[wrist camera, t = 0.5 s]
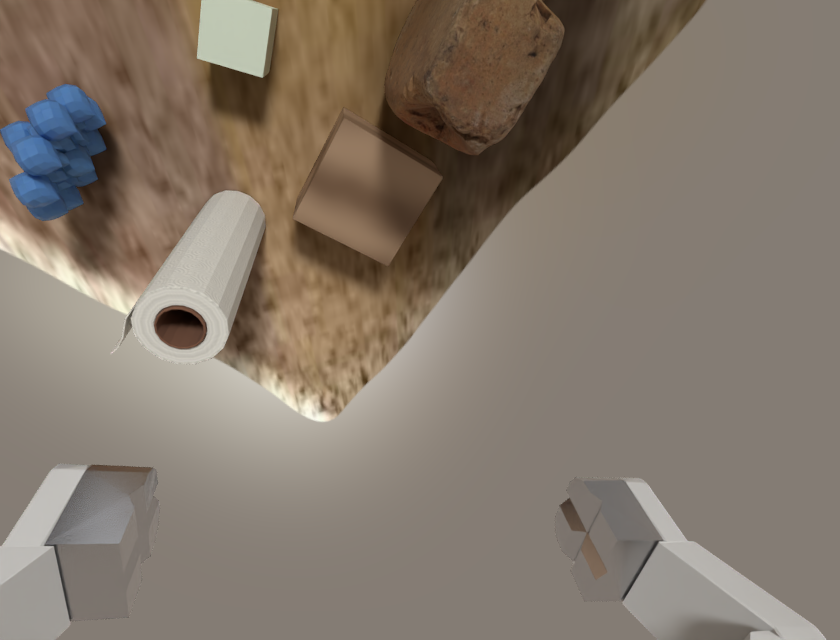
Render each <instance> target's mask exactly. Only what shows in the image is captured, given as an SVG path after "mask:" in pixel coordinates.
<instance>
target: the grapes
mask: <svg viewBox="0 0 840 640" xmlns="http://www.w3.org/2000/svg"><path fill="white" fill-rule="evenodd" d="M46 94H47V97H48V99H45V100H42V101H39V102H36V103H34V104H32V105H31V106H29V107H27V108H26V109H25V110H26V113H27V116H28V119H29V121H30V123H29V122H25V121H17V122H14V123H12V124H9V125H7V126H6V127H4V128H2V129H1V130H0V132H1V135H2V138H3V140H4V142H5V145H6V146H7V147H8V148H9V150H10V151H11V152H12V153H13V156H14V158H15V160H16V162H17V163H18V164H19V165H20V167H21V168H22V169H23V170H24V172H23V173H21V174H18V175H16V176H14V177H12V178H11V179H9V181H10V184H11V187H12V189H13V192H14V194H15V195H16V197H17V198H18V199H19V200H20V201H21V203H22V204H23V205H25V206H26V207H27V209H28V210H29V211H30V212H31V214H32V215H33V216H34V217H35V218H37V219H39V220H42V221H47V220H53V219H56V218H59V217H61V216H63V215H65V214H67V213H68V210H72V209H74V208H76V207H78V206H80V205H82V204H84V203H83V200H82V197H81V195H80V192H79V190H78V189H77V188H76V187H82V186H85V185H88V184H90V183H92V182H94V181H96V180H98V178H97V175H96V172H95V168H94V165H93V162H92V160H91V156H93V155H96V154H98V153H101V152H103V151H104V150H106V146H105V143H104V141H103V138H102V136H101V134H100V133H99V131H98V128H100V127H102V126H103V125H105V124H106V122H105V119H104V117H103V114H102V111H101V109H100V108H99V106H98V104H97V103H96V102H95V101H94V100H92V99H91V98H89V97H88V96H86V94H85V92H83V91H82V90H81V89H79V88H78V87H77V86H75V85H68V84H65V85H61V86H58V87H56V88H54V89H53V90H51V91H49V92H48V93H46Z"/></svg>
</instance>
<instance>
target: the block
mask: <svg viewBox="0 0 840 640" xmlns="http://www.w3.org/2000/svg"><path fill="white" fill-rule="evenodd" d="M564 32H565V29H564V26H563V25H562V23H561V21H560V19H559V18H558V17H557V16H555V14H554V13H553V12H552V11H551V10H550V9H549V8H548V7H547V6H546V5H545V4H544V3H543V2H542V0H417V2H416V3H415V5H414V7H413V8H412V10H411V12H410V14H409V16H408V18H407V20H406V23H405V25H404V27H403V29H402V31H401V33H400V36H399V38H398V40H397V42H396V46H395V48H394V52H393V56H392V58H391V61H390V64H389V69H388V71H387V74H386V78H385V84H384V85H385V97H386V100H387V103H388V105H389V106H390V108H391V109H392V111H393V112H394V114H395V115H396V116H397V117H398V118H400V119H401V120H402V121H403V122H405V123H406V124H408V125H410V126H412V127H413V128H415V129H417V130H419V131H421V132H423V133H425V134H427V135H429V136H431V137H433V138H435V139H438V140H440V141H441V142H443V143H445V144H447V145H449V146H451V147H452V148H454V149H456V150H459V151H462V152H464V153H466V154H468V155H479V154H480V153H481V152H482V151H484V150H485V149H486V148H488V147H490V146H491V145H495V144H496V143H498V142H499V141H501V140H502V139H504V138H505V137H506V135H507V134H508V133H509V132H510V130H511V129H512V128H513V127H514V125H515V124H516V123H517V121H518V119H519V118H520V116H521V114H522V113H523V111H524V109H525V107H526V106H527V104H528V102H529V101H530V100H531V99H532V97H533V95H534V93H535V92H536V90H537V89H538V87H539V86H540V84H541V83H542V81H543V79H544V77H545V76H546V73H547V71H548V68H549V66H550V65H551V63H552V62H553V60H554V58H555V57H556V55H557V53H558V51H559V49H560V47H561V45H562V41H563V36H564Z"/></svg>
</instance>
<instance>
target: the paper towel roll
mask: <svg viewBox="0 0 840 640" xmlns="http://www.w3.org/2000/svg"><path fill="white" fill-rule="evenodd" d="M265 227H266V225H265V215H264V213H263V211H262V209H261V207H260V205H259V204H258V203H257V202H256V201H255V200H254V199H253V198H252V197H251V196H249V195H247V194H244V193H242V192H240V191H227V190H225V191H223V192H220V193H217V194H214V195H213V196H212V197H211V198H210V199H209V201H208V202H207V203H206V204H205V205H204V207H203V208H202V209H201V211H200V212H199V214H198V215H197V216H196V218H195V219H194V221H193V222H192V224H191V225H190V226H189V228H188V229H187V231H186V232H185V234H184V235H183V236H182V238H181V239H180V241H179V242H178V244H177V245H176V246H175V248H174V249H173V251H172V252H171V254H170V255H169V256H168V258H167V259H166V261H165V262H164V264H163V265H162V266H161V268H160V269H159V271H158V272H157V274H156V275H155V276H154V278H153V279H152V281H151V282H150V284H149V285H148V286H147V288H146V289H145V291H144V292H143V294H142V295H141V296H140V298H139V299H138V301H137V302H136V304H135V305H134V306H133V308H132V309H131V311H130V312H129V314H128V315H127V316H126V318H125V321H124V328H123V334H122V337H121V338H120V340H119V341H118V343H117V344H116V346H115V347H114V349H113V350H112V352H111V353H110V354H112V353H114V352H115V351H116V350H117V349H118V347H119V346H120V344H121V343H122V341H123V340H124V338H125V337H126V335H127V334H128V332H129V331H130V329H131V328H132V327H133V331H134V335H135V336H136V338H137V339H138V340H139V342H140V343H141V344H142V346H143V347H144V348H145V349H146V350H148V351H149V352H151V353H152V354H154V355H155V356H157V357H158V358H160V359H163V360H166V361H170V362H173V363H176V364H197V363H200V362H203V361H206V360H209V359H212V358H213V357H214V356H215V355H216V354H217V353H219V352H220V351H221V350H222V349H223V348H224V346H225V344H226V341H227V339H228V336H229V334H230V331H231V328H232V325H233V322H234V319H235V316H236V313H237V310H238V307H239V304H240V301H241V298H242V295H243V292H244V289H245V286H246V283H247V281H248V278H249V275H250V272H251V269H252V266H253V263H254V260H255V257H256V254H257V251H258V248H259V245H260V242H261V239H262V236H263V233H264V230H265Z"/></svg>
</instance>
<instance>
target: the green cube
mask: <svg viewBox="0 0 840 640" xmlns="http://www.w3.org/2000/svg"><path fill="white" fill-rule="evenodd" d="M277 16H278V9H277V8H274V7H271V6H268V5H265V4H262V3H259V2H256V1H253V0H202V2H201V14H200V26H199V38H198V51H197V59H201V60H204V61H207V62H211V63H214V64H218V65H221V66H224V67H228V68H231V69H234V70H238V71H241V72H245V73H248V74H251V75H255V76H258V77H261V78H263V77H264V76H266V75H267V74H268V73H269V72H270V65H271V58H272V51H273V44H274V37H275V30H276V23H277Z"/></svg>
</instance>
